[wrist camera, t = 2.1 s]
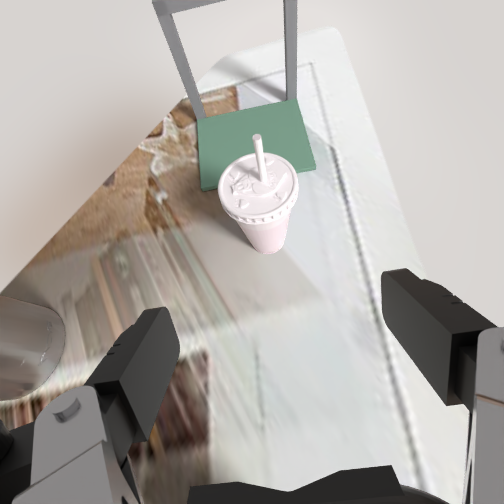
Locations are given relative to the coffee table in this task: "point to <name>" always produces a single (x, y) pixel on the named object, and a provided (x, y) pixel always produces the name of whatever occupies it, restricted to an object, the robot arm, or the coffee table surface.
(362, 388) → the coffee table surface
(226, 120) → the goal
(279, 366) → the coffee table surface
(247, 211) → the smoothie
